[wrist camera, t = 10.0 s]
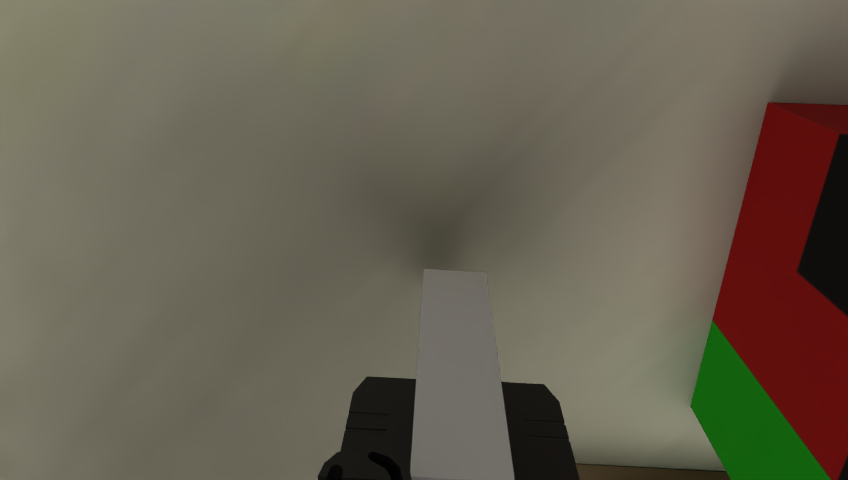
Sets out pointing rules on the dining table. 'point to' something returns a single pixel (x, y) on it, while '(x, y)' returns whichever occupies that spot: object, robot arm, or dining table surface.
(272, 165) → the dining table surface
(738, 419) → the puzzle toy
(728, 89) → the dining table surface
